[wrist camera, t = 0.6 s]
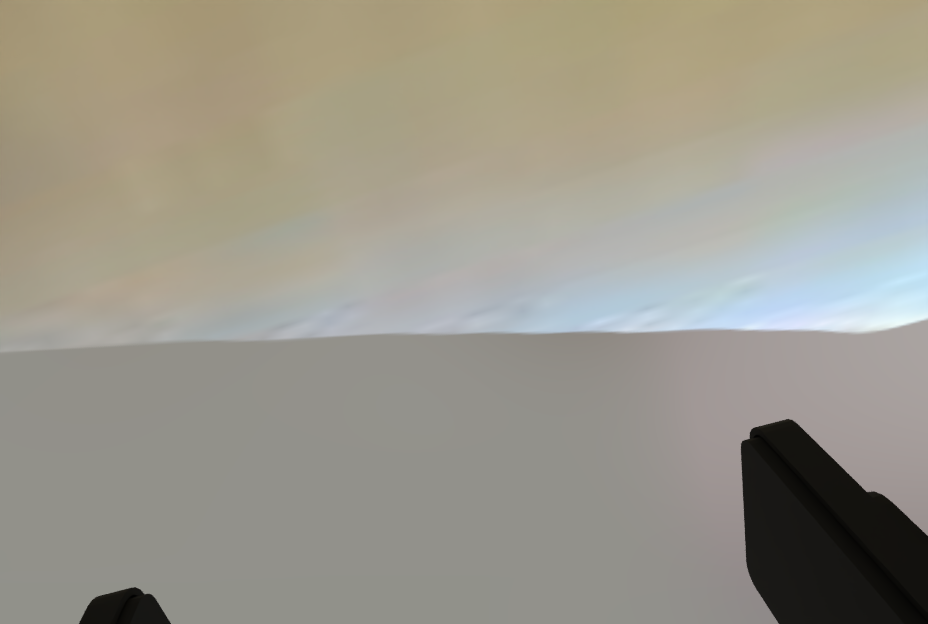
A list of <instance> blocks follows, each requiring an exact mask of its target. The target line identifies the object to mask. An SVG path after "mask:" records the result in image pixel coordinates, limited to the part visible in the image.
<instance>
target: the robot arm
mask: <svg viewBox="0 0 928 624" xmlns="http://www.w3.org/2000/svg"><path fill="white" fill-rule="evenodd" d="M741 460H742V480H743V501H744V520H745V541H746V562H747V568H748V572H749V574H750V577H751V580H752V582H753V584H754V586H755V587H756V589H757V591H758V592H759V594H760V595H761V597H762V598H763V600H764V601H765V603H766V604H767V606H768V608H769V609H770V611H771V612H772V614H773V615H774V617H775V618H776V620H777V621H778V623H779V624H928V536H927V535H926V534H925V533H924V532H923V531H922V530H921V529H920V528H919V527H918V526H917V525H916V524H914V523H913V522H912V521H911V520H910V519H909V518H908V517H907V516H906V515H905V514H904V513H903V512H902V511H901V510H900V509H899V508H898V507H897V506H896V505H894V504H893V503H892V502H891V501H890V500H889V499H887V498H886V497H885V496H883V495H882V494H879V493H877V492H866V491H865V490H864V489H863V488H862V487H861V486H860V485H859V484H858V483H857V482H856V481H855V480H854V479H853V478H852V477H851V476H850V475H849V474H848V473H847V472H846V471H845V470H844V469H843V468H842V467H841V466H840V465H839V464H838V463H837V462H836V461H835V460H834V459H833V458H832V457H831V456H829V455H828V454H827V453H826V452H825V451H824V450H823V449H822V448H821V447H820V446H819V445H818V444H817V443H816V442H815V441H814V440H813V439H812V438H811V437H810V436H809V435H808V434H807V433H806V432H805V431H804V430H803V429H802V428H801V427H800V426H799V425H798V424H797V423H795V422H794V421H793V420H789V419H786V420H783V421H779V422H775V423H771V424H767V425H763V426H759V427H755V428H753V429H752V430H751V432H750V439H748V440H744V441H742V443H741ZM79 624H171V623H170V621H169V620H168V619H167V617H166V615H165V613H164V612H163V610H162V609H161V607H160V605H159V604H158V602H157V601H156V599H155V598H154V597H153V596H152V595H151V594H144V593H143V592H142V591H141V590H140V589H138V588H136V587H134V588H129V589H125V590H121V591H117V592H114V593H110V594H105V595H102V596H98V597H96V598H95V599H93V600H92V601H91V603H90V604H89V605H88V607H87V609H86V611H85V613H84V615H83V617H82V619H81V621H80V623H79Z"/></svg>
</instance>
